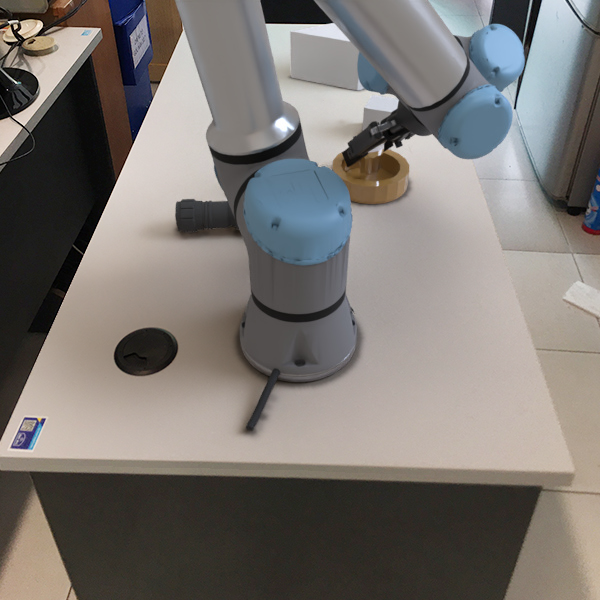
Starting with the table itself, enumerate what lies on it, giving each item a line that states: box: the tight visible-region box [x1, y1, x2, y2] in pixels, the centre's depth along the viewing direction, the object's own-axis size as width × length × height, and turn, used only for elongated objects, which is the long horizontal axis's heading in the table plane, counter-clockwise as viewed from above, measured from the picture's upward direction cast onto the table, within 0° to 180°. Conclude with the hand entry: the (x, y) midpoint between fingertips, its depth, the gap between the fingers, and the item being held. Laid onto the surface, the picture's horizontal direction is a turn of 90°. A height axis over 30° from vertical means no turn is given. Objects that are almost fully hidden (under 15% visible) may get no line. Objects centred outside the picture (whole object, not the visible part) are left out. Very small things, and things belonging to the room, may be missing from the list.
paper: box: [289, 22, 366, 91], centre depth 140 cm, size 14×29×10 cm, turn 92°
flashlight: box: [174, 198, 240, 234], centre depth 99 cm, size 15×5×5 cm, turn 93°
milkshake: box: [359, 142, 386, 181], centre depth 107 cm, size 5×5×10 cm
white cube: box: [361, 94, 399, 132], centre depth 122 cm, size 6×6×6 cm
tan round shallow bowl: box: [331, 148, 410, 205], centre depth 109 cm, size 13×13×4 cm
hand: (358, 155), depth 110 cm, fingers closed on milkshake, 4 cm apart
